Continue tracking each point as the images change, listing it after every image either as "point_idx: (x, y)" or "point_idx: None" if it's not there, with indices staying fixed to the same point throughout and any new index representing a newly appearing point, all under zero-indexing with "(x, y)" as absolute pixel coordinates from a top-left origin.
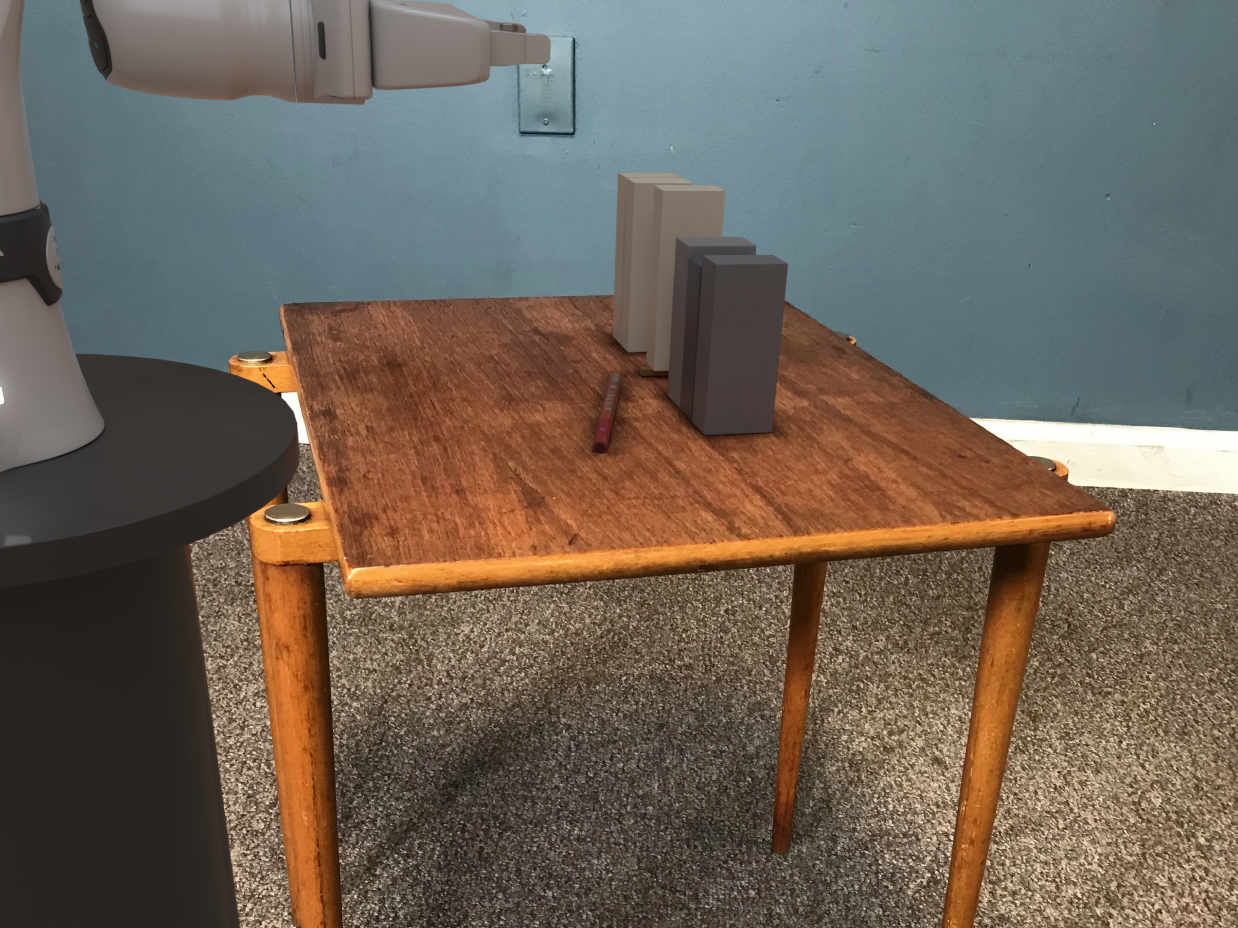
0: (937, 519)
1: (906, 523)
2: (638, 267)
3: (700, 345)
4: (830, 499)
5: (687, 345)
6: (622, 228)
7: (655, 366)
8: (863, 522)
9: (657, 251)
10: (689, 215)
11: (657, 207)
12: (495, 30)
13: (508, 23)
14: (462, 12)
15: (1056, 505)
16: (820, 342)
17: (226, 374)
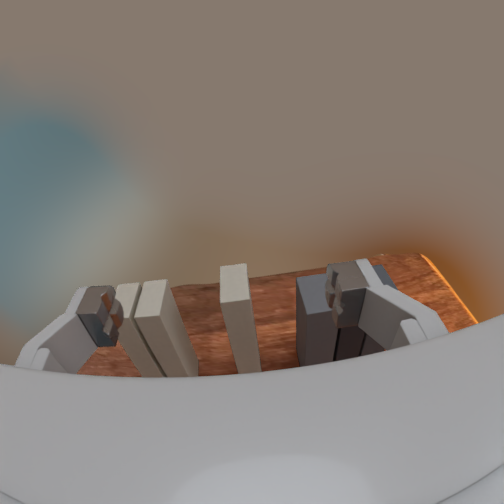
0: (447, 291)
1: (455, 299)
2: (181, 355)
3: (371, 340)
4: (443, 319)
5: (345, 350)
6: (141, 346)
7: None
8: (460, 311)
9: (247, 336)
10: (250, 297)
11: (236, 313)
12: (417, 323)
13: (87, 303)
14: (307, 390)
15: (418, 260)
16: (191, 293)
17: None
